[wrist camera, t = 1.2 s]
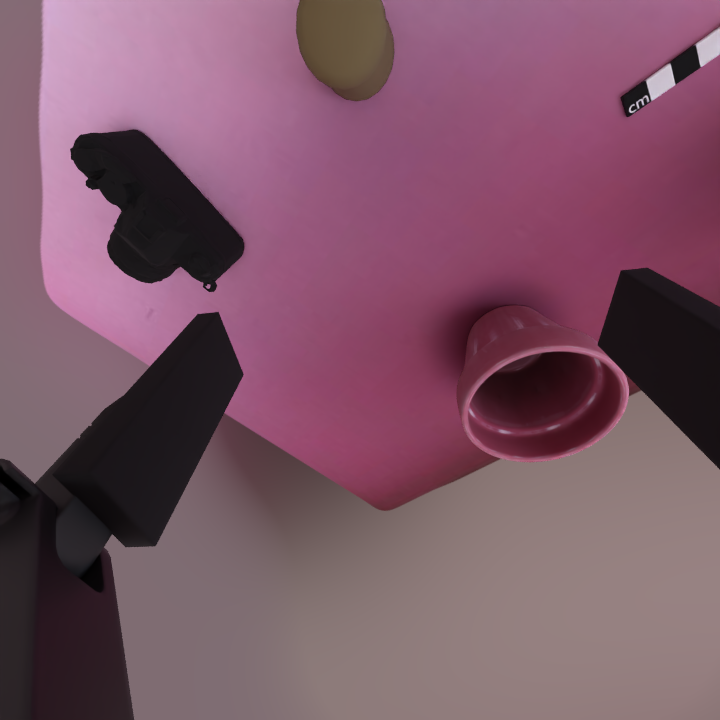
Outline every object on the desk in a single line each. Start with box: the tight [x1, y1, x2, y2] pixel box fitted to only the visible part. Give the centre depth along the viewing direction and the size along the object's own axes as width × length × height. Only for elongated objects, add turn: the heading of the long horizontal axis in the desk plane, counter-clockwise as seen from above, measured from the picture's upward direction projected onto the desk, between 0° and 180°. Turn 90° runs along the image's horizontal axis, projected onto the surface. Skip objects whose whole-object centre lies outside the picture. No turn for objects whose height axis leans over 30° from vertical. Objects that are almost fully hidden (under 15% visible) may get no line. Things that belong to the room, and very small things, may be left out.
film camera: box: [70, 130, 244, 292], centre depth 33 cm, size 15×10×9 cm, turn 37°
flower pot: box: [457, 305, 629, 462], centre depth 36 cm, size 14×14×13 cm
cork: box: [296, 0, 394, 101], centre depth 23 cm, size 6×6×11 cm
